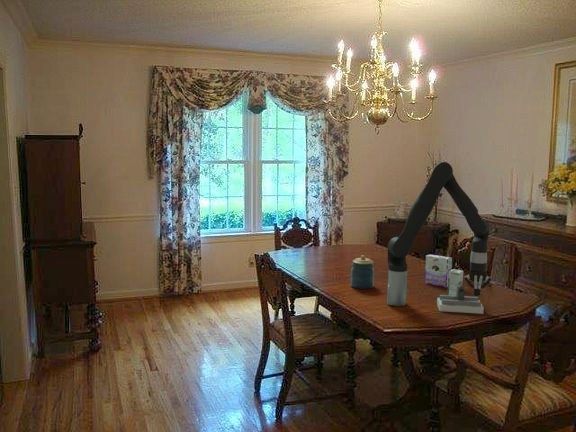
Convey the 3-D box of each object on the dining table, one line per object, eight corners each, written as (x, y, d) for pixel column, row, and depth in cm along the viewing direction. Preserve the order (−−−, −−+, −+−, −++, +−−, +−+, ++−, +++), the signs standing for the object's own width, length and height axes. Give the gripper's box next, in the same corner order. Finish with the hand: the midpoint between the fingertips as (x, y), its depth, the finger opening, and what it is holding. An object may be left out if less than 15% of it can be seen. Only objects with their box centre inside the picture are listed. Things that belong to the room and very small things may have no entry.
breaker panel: (439, 311, 251) (440, 300, 250) (436, 303, 263) (437, 293, 262) (483, 313, 248) (484, 303, 247) (478, 306, 259) (479, 296, 259)
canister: (357, 281, 303) (358, 251, 300) (377, 285, 295) (378, 254, 293) (346, 286, 292) (347, 255, 290) (367, 290, 285) (368, 258, 282)
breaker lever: (457, 303, 253) (458, 286, 251) (455, 300, 258) (456, 284, 256) (463, 303, 252) (464, 287, 251) (462, 300, 257) (463, 284, 256)
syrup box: (451, 295, 277) (452, 268, 275) (462, 297, 273) (463, 270, 271) (446, 298, 272) (448, 270, 270) (457, 300, 269) (459, 272, 267)
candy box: (451, 285, 296) (452, 257, 293) (446, 288, 291) (447, 259, 289) (428, 281, 305) (430, 253, 303) (423, 283, 301) (425, 255, 298)
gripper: (491, 259, 253) (489, 294, 256) (462, 258, 256) (461, 293, 258) (494, 263, 246) (492, 299, 248) (465, 262, 248) (463, 297, 251)
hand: (476, 296), depth 253 cm, fingers closed
